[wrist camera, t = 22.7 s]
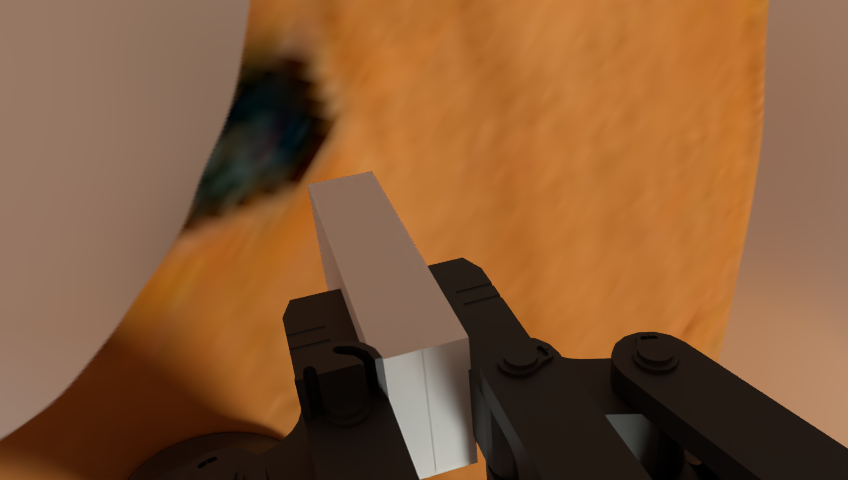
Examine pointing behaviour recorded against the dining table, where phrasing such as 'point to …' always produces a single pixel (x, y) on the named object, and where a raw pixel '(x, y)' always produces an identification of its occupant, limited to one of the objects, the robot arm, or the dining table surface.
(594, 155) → the dining table surface
